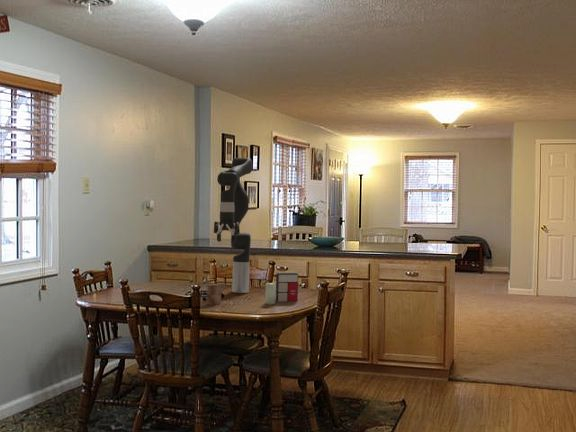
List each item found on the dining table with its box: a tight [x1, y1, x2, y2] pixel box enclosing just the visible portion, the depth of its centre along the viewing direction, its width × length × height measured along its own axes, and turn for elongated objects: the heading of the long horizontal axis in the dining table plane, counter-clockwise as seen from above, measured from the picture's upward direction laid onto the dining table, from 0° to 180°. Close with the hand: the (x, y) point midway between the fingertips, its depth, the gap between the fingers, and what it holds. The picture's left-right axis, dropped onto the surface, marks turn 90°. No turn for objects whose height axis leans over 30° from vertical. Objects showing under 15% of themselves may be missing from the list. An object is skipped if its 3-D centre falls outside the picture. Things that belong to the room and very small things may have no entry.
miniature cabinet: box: [275, 272, 299, 302], centre depth 341 cm, size 11×4×15 cm, turn 105°
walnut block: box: [206, 283, 222, 306], centre depth 325 cm, size 5×5×10 cm
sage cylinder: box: [264, 282, 276, 306], centre depth 330 cm, size 5×5×10 cm
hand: (226, 242), depth 342 cm, fingers open, 8 cm apart
